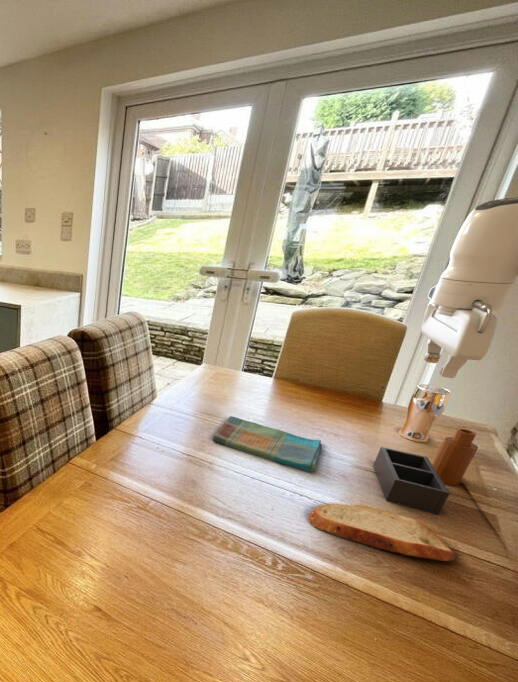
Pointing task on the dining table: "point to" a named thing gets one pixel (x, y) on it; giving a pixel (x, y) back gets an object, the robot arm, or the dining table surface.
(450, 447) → the spice bottle
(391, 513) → the bread slice
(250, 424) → the dish towel
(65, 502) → the dining table surface
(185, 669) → the dining table surface
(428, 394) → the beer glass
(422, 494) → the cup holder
